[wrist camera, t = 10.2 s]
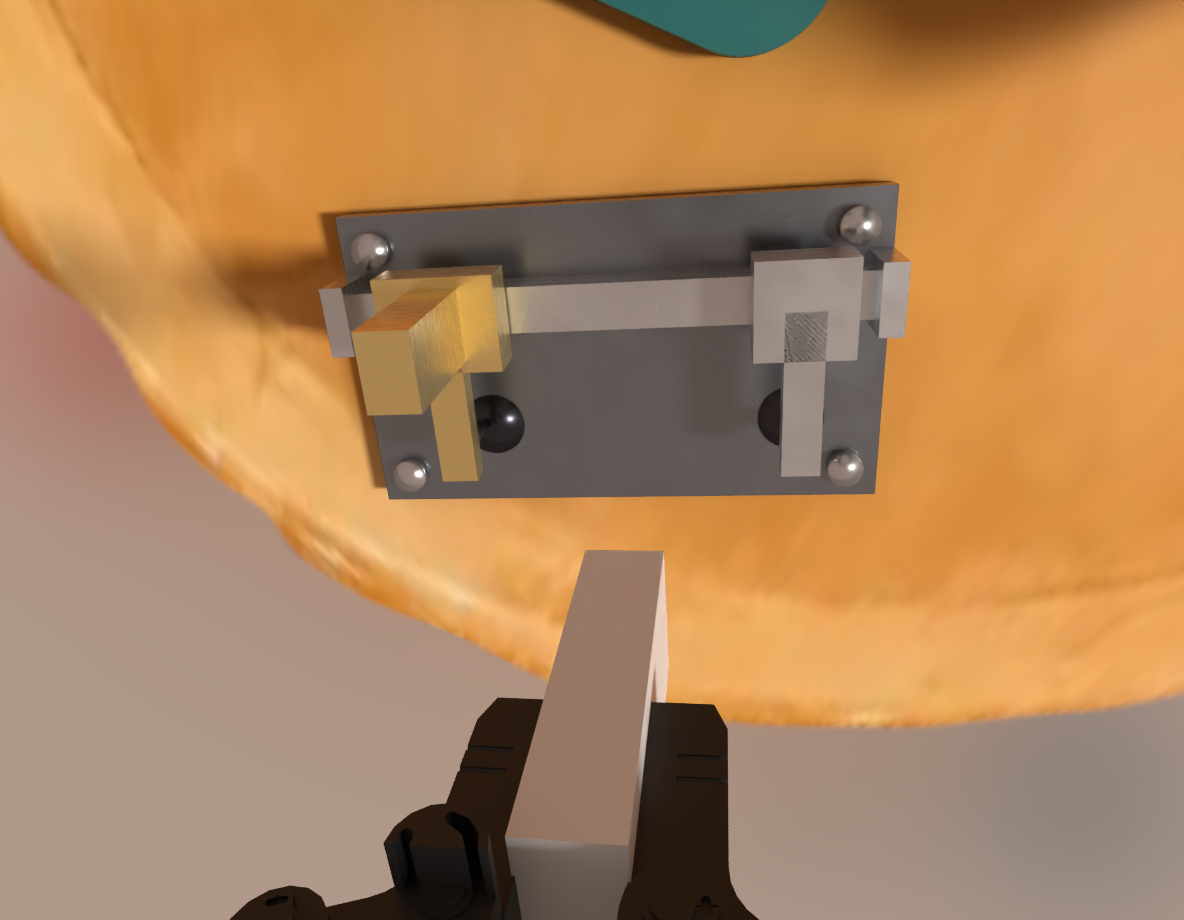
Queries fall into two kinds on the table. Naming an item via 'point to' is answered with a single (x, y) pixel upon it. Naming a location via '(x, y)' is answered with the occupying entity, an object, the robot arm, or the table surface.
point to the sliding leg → (435, 352)
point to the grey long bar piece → (711, 317)
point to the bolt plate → (635, 349)
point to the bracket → (725, 22)
